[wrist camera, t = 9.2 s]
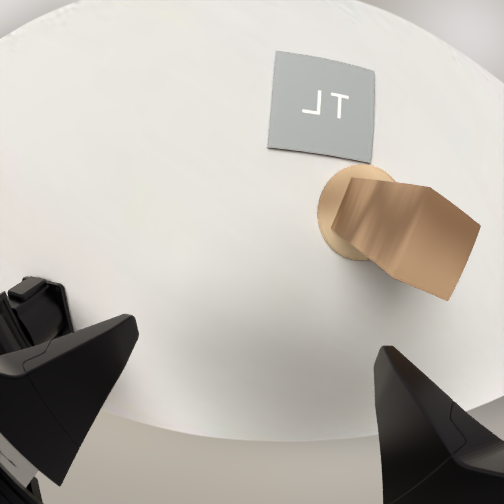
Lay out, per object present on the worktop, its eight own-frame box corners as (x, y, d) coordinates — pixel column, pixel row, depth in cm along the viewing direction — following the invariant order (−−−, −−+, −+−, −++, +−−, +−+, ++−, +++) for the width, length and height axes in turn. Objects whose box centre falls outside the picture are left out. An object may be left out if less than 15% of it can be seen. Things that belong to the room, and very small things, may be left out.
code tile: (369, 163, 19) (370, 163, 18) (267, 147, 19) (267, 147, 18) (372, 72, 16) (374, 71, 16) (275, 52, 16) (275, 50, 16)
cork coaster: (393, 261, 21) (395, 263, 21) (311, 255, 21) (312, 256, 21) (407, 174, 19) (410, 174, 19) (323, 157, 19) (324, 156, 18)
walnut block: (374, 247, 20) (447, 301, 11) (330, 228, 20) (392, 277, 10) (394, 199, 19) (480, 225, 10) (351, 177, 19) (429, 187, 9)
